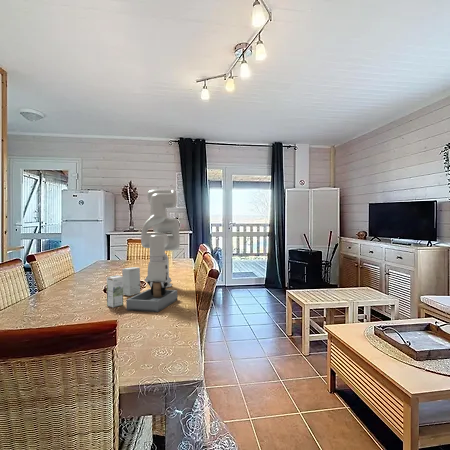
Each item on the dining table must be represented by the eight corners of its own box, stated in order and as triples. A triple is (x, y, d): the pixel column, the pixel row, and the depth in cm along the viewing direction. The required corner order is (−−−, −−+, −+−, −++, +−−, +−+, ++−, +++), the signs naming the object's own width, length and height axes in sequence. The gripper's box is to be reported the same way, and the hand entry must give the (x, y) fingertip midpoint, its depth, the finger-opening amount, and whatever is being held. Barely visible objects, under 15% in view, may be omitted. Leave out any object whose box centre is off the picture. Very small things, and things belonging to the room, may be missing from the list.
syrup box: (117, 303, 162) (116, 274, 161) (124, 305, 158) (123, 276, 158) (106, 306, 157) (106, 276, 157) (113, 308, 154) (112, 277, 153)
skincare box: (130, 296, 176) (129, 269, 176) (122, 295, 179) (121, 268, 179) (141, 292, 183) (140, 267, 183) (133, 291, 186) (132, 266, 186)
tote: (149, 298, 170) (149, 289, 170) (177, 299, 166) (177, 290, 166) (126, 310, 149) (126, 299, 149) (157, 312, 145) (157, 301, 145)
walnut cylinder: (156, 294, 166) (155, 281, 166) (164, 295, 165) (164, 281, 164) (151, 297, 161) (151, 283, 161) (160, 297, 160) (160, 283, 160)
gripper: (175, 258, 164) (176, 293, 164) (146, 257, 168) (147, 292, 169) (169, 260, 157) (170, 297, 157) (138, 259, 161) (139, 295, 162)
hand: (158, 294), depth 163 cm, fingers closed on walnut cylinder, 4 cm apart
